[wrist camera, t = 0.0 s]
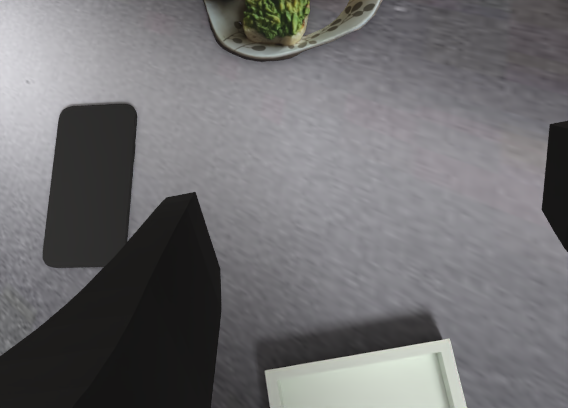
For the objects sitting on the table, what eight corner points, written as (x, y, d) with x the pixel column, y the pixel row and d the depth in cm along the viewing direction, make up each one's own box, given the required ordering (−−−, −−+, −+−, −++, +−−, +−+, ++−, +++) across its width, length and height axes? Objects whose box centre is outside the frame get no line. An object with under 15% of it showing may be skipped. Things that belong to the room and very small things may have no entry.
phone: (39, 267, 45) (59, 106, 49) (45, 269, 46) (63, 110, 50) (124, 265, 44) (136, 102, 48) (127, 267, 45) (139, 106, 49)
